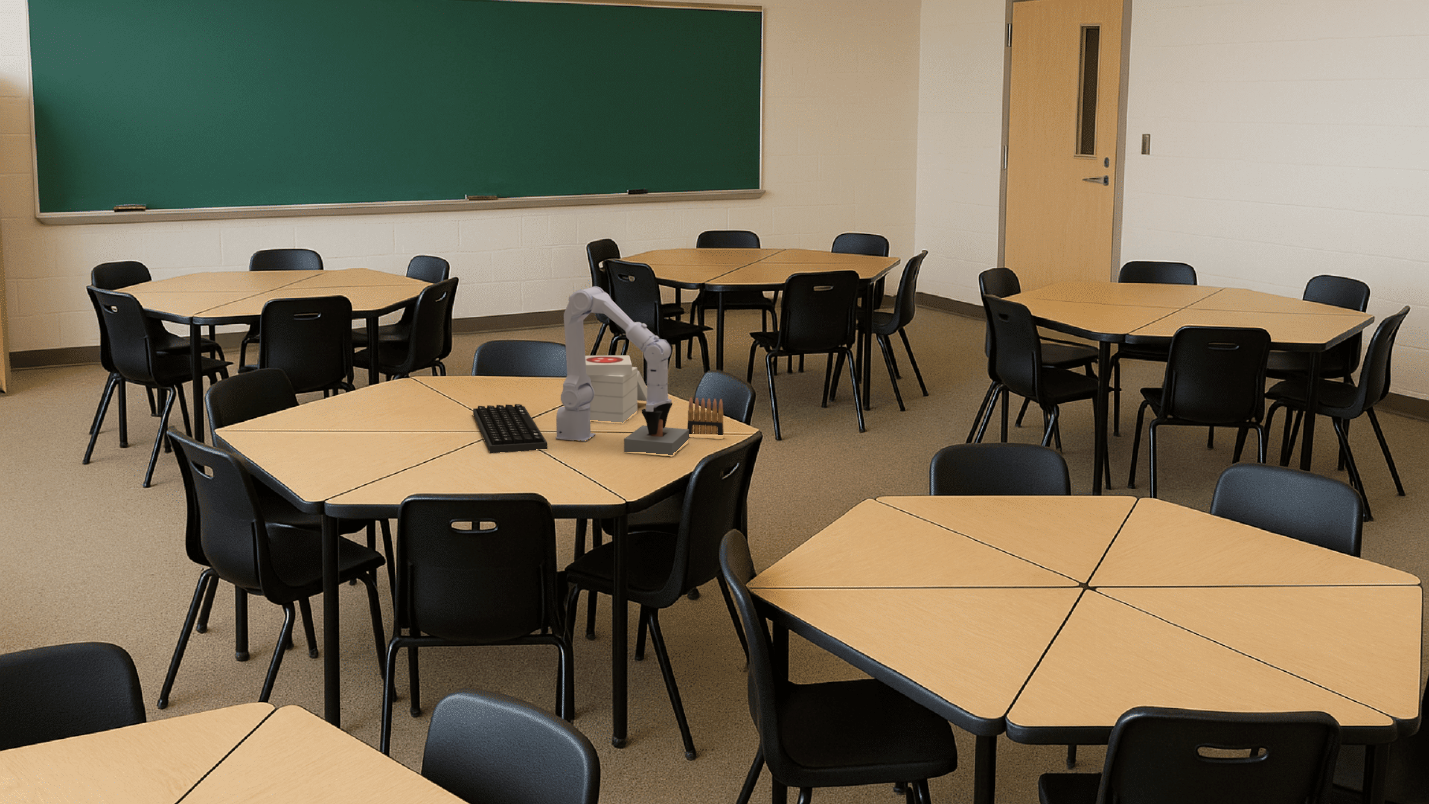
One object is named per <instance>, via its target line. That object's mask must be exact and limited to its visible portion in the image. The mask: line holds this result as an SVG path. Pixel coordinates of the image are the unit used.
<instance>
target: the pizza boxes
mask: <svg viewBox="0 0 1429 804" xmlns="http://www.w3.org/2000/svg"><path fill="white" fill-rule="evenodd" d="M585 360H586V374H587V375H588V376H589V378H590V379H591V385H592V387H593V389H594V398H593V400H592V401H591V402H590V420H598V421H611V422H622V423H623V422H624V421H625V420H627V419H628V418H629V417H630V416H631V415H632V414H634V413H635V412H636V411H637V412H638V402H646V399H647V385H646V383H645V381H644V379H643V376H642V375H641V372H640V370H638V367H637V366H633V364H632V361H631V357H630V355H625V354H624V355H617V354H616V355H615V354H614V355H585Z"/></svg>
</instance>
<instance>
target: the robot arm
mask: <svg viewBox="0 0 1429 804" xmlns="http://www.w3.org/2000/svg"><path fill="white" fill-rule="evenodd" d="M592 313H593V314H603V315H605V316H606V317H608V318H609V319H610V320H611V321H613V322H614V323H615V324H616V325H617V326H618V327H620V328H621V329H623V331H625V336H626V338H627V339H628V340H629V342H631V343H632V344H633V345H634V346H635V347H636V348H638V349H639V350H640V352H642V353H643V357H644V359H645V360H646V363H647V364H646V365H647V366H646V367H647V368H646V377H647V378H646V382H647V383H646V384H647V385H646V387H647V399H646V401H645V402H646V404H645V408H642V409H641V414H642V416H643V417H644V420H645V423H646V426H647V428H648V432H649V434H653V435H656V434H657V431H658V424H659V419H661V420H663V428H665V427H666V425H667V420H668V416H669V413H670V410H671V408H672V406H673V402H672V399H671V398H669V393H668V390H669V389H668V387H669V386H668V385H669V384H668V379H669V378H668V377H669V376H668V375H669V371H668V370H669V369H668V367H669V360H668V359H669V357H671V354H672V347H671V344H670V343H669V342H668V341H667V339H662V338H660V337H659V336H658V335H655V334H654V333H653V332H652V331H650V330H649V329H648V328H647V327H648V325H647V324H646V323H644V322H643V323H642V322H640V321H636V322H635V321H633V320H632V319H631V318H630V317H629V316H628V315H627V313H625V312H624V311H623V310H622V309H621V307H619V306H618V305H617V304H616V302H614V301H613V299H612V297H611V296H610V294H608V293H607V292H606V291H604V290H603V288H601V287H599V286H596V285H594V286H591V287H587V288H583V289H578V290H575V291H574V292H573V293H572V294H571V295H570V296H569V297H568V302H567V306H566V308H565V310H564V312H563V325H564V326H563V327H564V341H565V342H564V343H565V356H566V357H565V358H566V373H567V375H566V378H565V380H564V381H563V383H562V391H561V394H560V402H561V404H562V405H563V406H560V407H559V408H558V409H557V412H556V422H555V423H556V427H555V428H556V436H555V439H556V440H565V441H574V440H578V441H577V442H586V441H585V440H587V441H589V440H590V439H591V438H590V437H592V438H593V437H595V436H596V433H594V432H592V431H591V422H590V402H591V401H592V400H593V398H594V389H593V387H592V385H591V379H590V378H589V376H588V375H587V374H586V360H585V356H586V347H585V346H586V345H585V330H584V329H585V327H584V320H585V319H586V318H587V317H588V316H589V315H590V314H592ZM594 435H595V436H594ZM589 438H590V439H589ZM588 439H589V440H588ZM580 440H581V441H580Z"/></svg>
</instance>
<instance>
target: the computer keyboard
mask: <svg viewBox="0 0 1429 804" xmlns="http://www.w3.org/2000/svg"><path fill="white" fill-rule="evenodd" d="M472 414H473V415H474V416H473V418H474V417H475V418H474V420H475V422H477V423H476V424H477V427H478V426H479V427H478V429H479V431H481V432H480V433H481V436H482V438H484V439H483V441H484V440H485V441H484V443H485V446H486V448H487V447H488V448H487V450H488V452H489V454H501V453H500V452H505V453H517V452H518V451H521V452H530V451H529V450H536V449H548V441H547V440H546V438H545V436H544V435H543V433H542V432H541V430H540V429H539V427H538V426H537V424H536V422H535V421H534V419H533V418H532V416H531V414H530V413H529V412H528V410H527V408H526V406H525V405H523V404H520V403H515V404H514V406H513V404H507V403H506V404H505V406H504V405H502V404H496V405H495V406H494V405H486V406H484V405H477V408H472ZM518 453H519V452H518Z"/></svg>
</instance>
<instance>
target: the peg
mask: <svg viewBox="0 0 1429 804" xmlns="http://www.w3.org/2000/svg"><path fill="white" fill-rule="evenodd" d="M651 436H659V437H663V420H661V419H659V424H658V431H657V434H656V435H653V434H651Z"/></svg>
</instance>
